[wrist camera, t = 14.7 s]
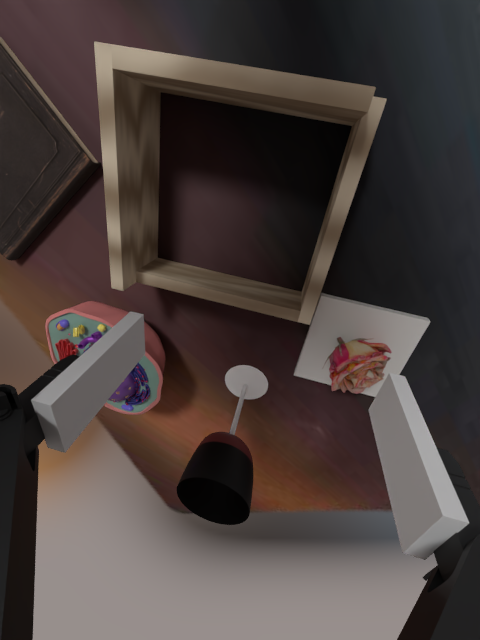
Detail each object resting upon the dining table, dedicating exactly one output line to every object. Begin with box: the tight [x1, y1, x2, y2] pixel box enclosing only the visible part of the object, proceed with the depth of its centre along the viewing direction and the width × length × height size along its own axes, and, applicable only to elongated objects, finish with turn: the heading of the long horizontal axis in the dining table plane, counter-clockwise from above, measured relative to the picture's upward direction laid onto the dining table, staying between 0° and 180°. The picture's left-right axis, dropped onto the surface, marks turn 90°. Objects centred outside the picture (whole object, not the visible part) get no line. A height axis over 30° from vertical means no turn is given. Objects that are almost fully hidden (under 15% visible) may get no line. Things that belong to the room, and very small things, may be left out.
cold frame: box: [94, 42, 387, 325], centre depth 31 cm, size 22×24×9 cm
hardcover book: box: [0, 37, 101, 260], centre depth 38 cm, size 16×23×2 cm
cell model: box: [45, 301, 166, 415], centre depth 44 cm, size 17×20×11 cm
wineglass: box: [177, 365, 268, 525], centre depth 40 cm, size 8×9×20 cm
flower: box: [324, 337, 392, 394], centre depth 37 cm, size 9×9×7 cm
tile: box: [294, 293, 431, 397], centre depth 41 cm, size 14×14×1 cm
